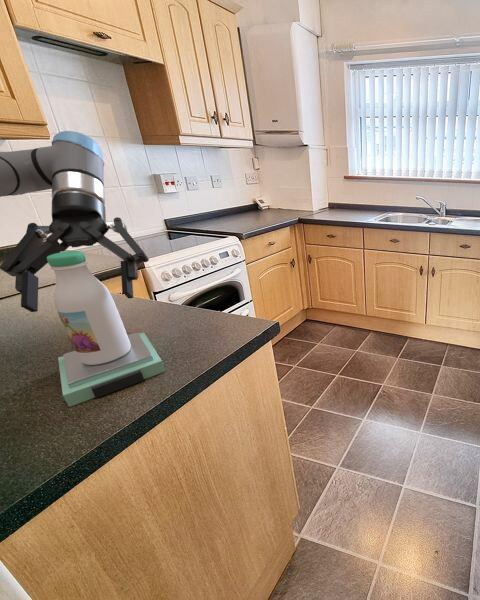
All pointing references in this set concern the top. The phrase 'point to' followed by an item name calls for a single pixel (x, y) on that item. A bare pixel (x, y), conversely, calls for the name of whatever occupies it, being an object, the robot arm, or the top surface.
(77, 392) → the scale
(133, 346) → the scale pan
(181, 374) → the top surface
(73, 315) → the milk bottle
